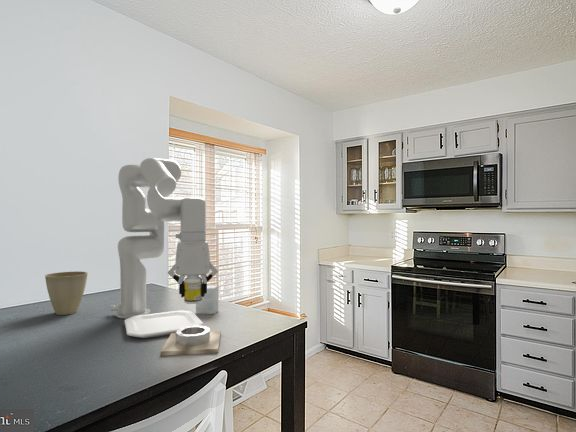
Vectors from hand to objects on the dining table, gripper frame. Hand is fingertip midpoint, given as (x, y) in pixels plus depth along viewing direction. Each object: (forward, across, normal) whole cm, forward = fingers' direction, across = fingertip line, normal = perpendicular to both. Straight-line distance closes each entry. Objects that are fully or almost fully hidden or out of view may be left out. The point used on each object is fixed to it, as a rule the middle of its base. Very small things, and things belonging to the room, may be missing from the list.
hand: (193, 295), depth 110 cm
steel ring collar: (+14, 0, 0) cm, 14 cm away
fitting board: (+15, 0, 0) cm, 15 cm away
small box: (+15, +1, +37) cm, 40 cm away
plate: (+16, -13, +20) cm, 28 cm away
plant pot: (+15, -56, +44) cm, 73 cm away
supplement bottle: (+2, 0, 0) cm, 2 cm away
